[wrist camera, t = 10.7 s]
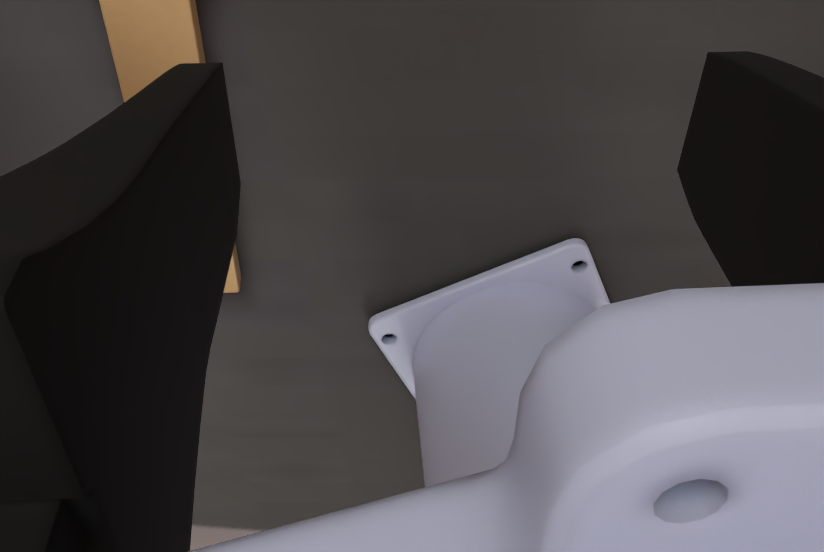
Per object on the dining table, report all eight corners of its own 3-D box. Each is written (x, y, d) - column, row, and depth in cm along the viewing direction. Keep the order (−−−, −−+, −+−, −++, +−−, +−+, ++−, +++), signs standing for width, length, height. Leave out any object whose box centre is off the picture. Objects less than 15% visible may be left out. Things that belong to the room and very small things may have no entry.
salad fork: (284, 276, 26) (282, 291, 26) (131, 281, 26) (126, 297, 25) (195, -461, 15) (189, -465, 14) (-81, -466, 15) (-99, -470, 14)
